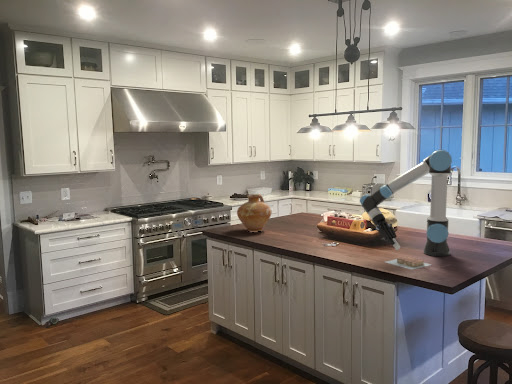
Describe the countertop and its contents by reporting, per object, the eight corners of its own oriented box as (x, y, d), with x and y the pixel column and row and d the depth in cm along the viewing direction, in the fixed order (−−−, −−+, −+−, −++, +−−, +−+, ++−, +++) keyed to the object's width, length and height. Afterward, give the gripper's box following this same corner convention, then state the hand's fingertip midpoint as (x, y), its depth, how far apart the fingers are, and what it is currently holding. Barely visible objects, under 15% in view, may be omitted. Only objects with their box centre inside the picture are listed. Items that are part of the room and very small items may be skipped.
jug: (230, 232, 361) (229, 195, 358) (251, 226, 383) (250, 192, 380) (258, 236, 344) (257, 197, 341) (278, 230, 366) (278, 193, 363)
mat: (383, 262, 261) (383, 261, 261) (403, 258, 270) (403, 257, 270) (411, 270, 244) (411, 269, 244) (431, 265, 253) (432, 264, 253)
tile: (397, 258, 258) (414, 263, 248) (406, 256, 262) (423, 260, 252) (397, 262, 258) (414, 267, 248) (406, 260, 262) (423, 265, 252)
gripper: (380, 219, 279) (402, 250, 267) (366, 221, 273) (387, 253, 260) (387, 212, 274) (409, 243, 262) (372, 214, 268) (394, 246, 255)
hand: (398, 248), depth 261 cm, fingers closed
